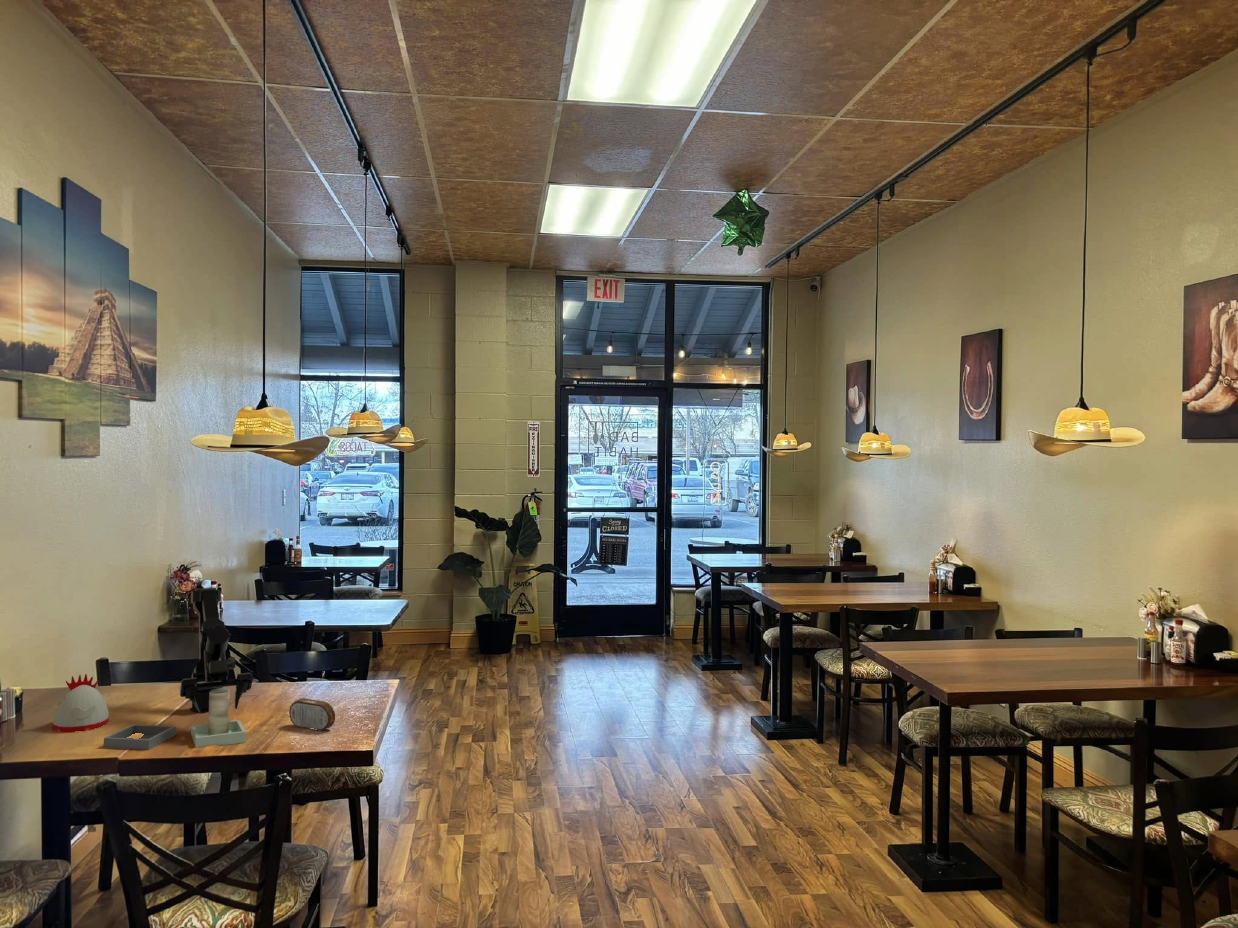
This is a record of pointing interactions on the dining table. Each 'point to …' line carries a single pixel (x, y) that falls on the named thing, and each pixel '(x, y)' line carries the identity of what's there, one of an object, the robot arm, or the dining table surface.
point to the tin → (312, 714)
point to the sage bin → (232, 737)
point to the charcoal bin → (146, 742)
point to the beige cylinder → (218, 711)
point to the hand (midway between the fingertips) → (218, 710)
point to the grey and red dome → (81, 708)
